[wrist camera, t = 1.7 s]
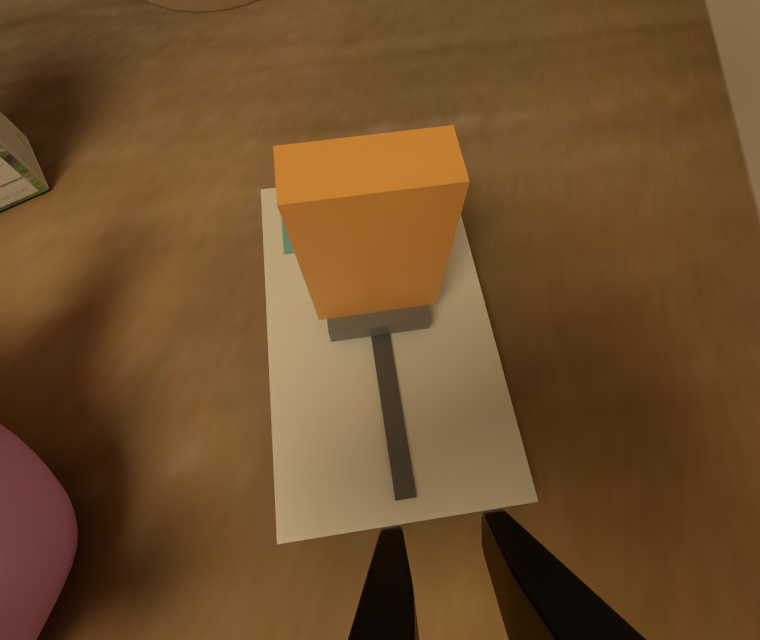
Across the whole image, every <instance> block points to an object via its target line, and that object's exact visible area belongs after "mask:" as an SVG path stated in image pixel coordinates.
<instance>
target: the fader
mask: <svg viewBox="0 0 760 640" xmlns="http://www.w3.org/2000/svg"><path fill="white" fill-rule="evenodd" d="M273 149H274V165H275V181H276V197H277V206H278V209H279V212H280V215H281V217H282V220H283V223H284V226H285V228H286V231H287V234H288V237H289V239H290V242H291V245H292V247H293V250H294V253H295V256H296V258H297V261H298V264H299V267H300V269H301V272H302V275H303V278H304V280H305V283H306V286H307V288H308V291H309V294H310V297H311V299H312V302H313V305H314V308H315V310H316V313H317V316H318V319H319V320H323V319H327V324H328V333H329V336H330V339H331V342H334V341H342V340H349V339H356V338H363V337H370V336H377V335H384V334H391V333H399V332H406V331H413V330H420V329H427V328H430V324H431V320H432V318H431V313H430V308H429V305H432V304H437V300H438V296H439V293H440V289H441V285H442V282H443V278H444V274H445V271H446V267H447V263H448V260H449V256H450V252H451V248H452V245H453V241H454V237H455V234H456V230H457V226H458V223H459V219H460V215H461V211H462V208H463V204H464V200H465V197H466V193H467V189H468V186H469V182H470V181H469V177H468V174H467V171H466V167H465V164H464V160H463V157H462V153H461V150H460V147H459V143H458V140H457V136H456V133H455V129H454V126H453V125H450V126H441V127H433V128H424V129H416V130H407V131H399V132H390V133H381V134H373V135H364V136H356V137H347V138H339V139H330V140H322V141H313V142H305V143H296V144H287V145H279V146H273Z"/></svg>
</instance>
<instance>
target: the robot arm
mask: <svg viewBox="0 0 760 640" xmlns="http://www.w3.org/2000/svg"><path fill="white" fill-rule="evenodd" d="M481 524H482V547H483V552H484V556H485V560H486V563H487V567H488V570H489V574H490V577H491V580H492V584H493V587H494V591H495V594H496V598H497V601H498V605H499V608H500V612H501V615H502V618H503V622H504V625H505V629H506V632H507V635H508V638H509V640H646V639H645V638H644V637H643V636H642V635H640V634H639V633H638V632H637V631H636V630H635V629H634V628H633V627H632V626H631V625H629V624H628V623H627V622H626V621H625V620H624V619H623V618H622V617H621V616H620V615H619V614H617V613H616V612H615V611H614V610H613V609H612V608H611V607H610V606H609V605H608V604H606V603H605V602H604V601H603V600H602V599H601V598H600V597H599V596H598V595H597V594H595V593H594V592H593V591H592V590H591V589H590V588H589V587H588V586H587V585H586V584H585V583H583V582H582V581H581V580H580V579H579V578H578V577H577V576H576V575H575V574H574V573H572V572H571V571H570V570H569V569H568V568H567V567H566V566H565V565H564V564H563V563H561V562H560V561H559V560H558V559H557V558H556V557H555V556H554V555H553V554H552V553H551V552H549V551H548V550H547V549H546V548H545V547H544V546H543V545H542V544H541V543H540V542H538V541H537V540H536V539H535V538H534V537H533V536H532V535H531V534H530V533H529V532H527V531H526V530H525V529H524V528H523V527H522V526H521V525H520V524H519V523H518V522H516V521H515V520H514V519H513V518H512V517H511V516H510V515H509V514H508V513H507V512H505V511H504V510H501V509H499V510H493V511H486V512H484V513H483V514H482V517H481ZM348 640H419V634H418V625H417V617H416V608H415V599H414V591H413V584H412V577H411V572H410V567H409V561H408V556H407V550H406V545H405V540H404V534H403V530H402V528H401V527H400V526H394V527H388V528H383V529H381V531H380V533H379V536H378V539H377V542H376V546H375V549H374V553H373V556H372V560H371V563H370V566H369V570H368V573H367V577H366V580H365V584H364V587H363V590H362V594H361V597H360V601H359V604H358V607H357V611H356V614H355V618H354V621H353V625H352V628H351V631H350V635H349V638H348Z"/></svg>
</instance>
